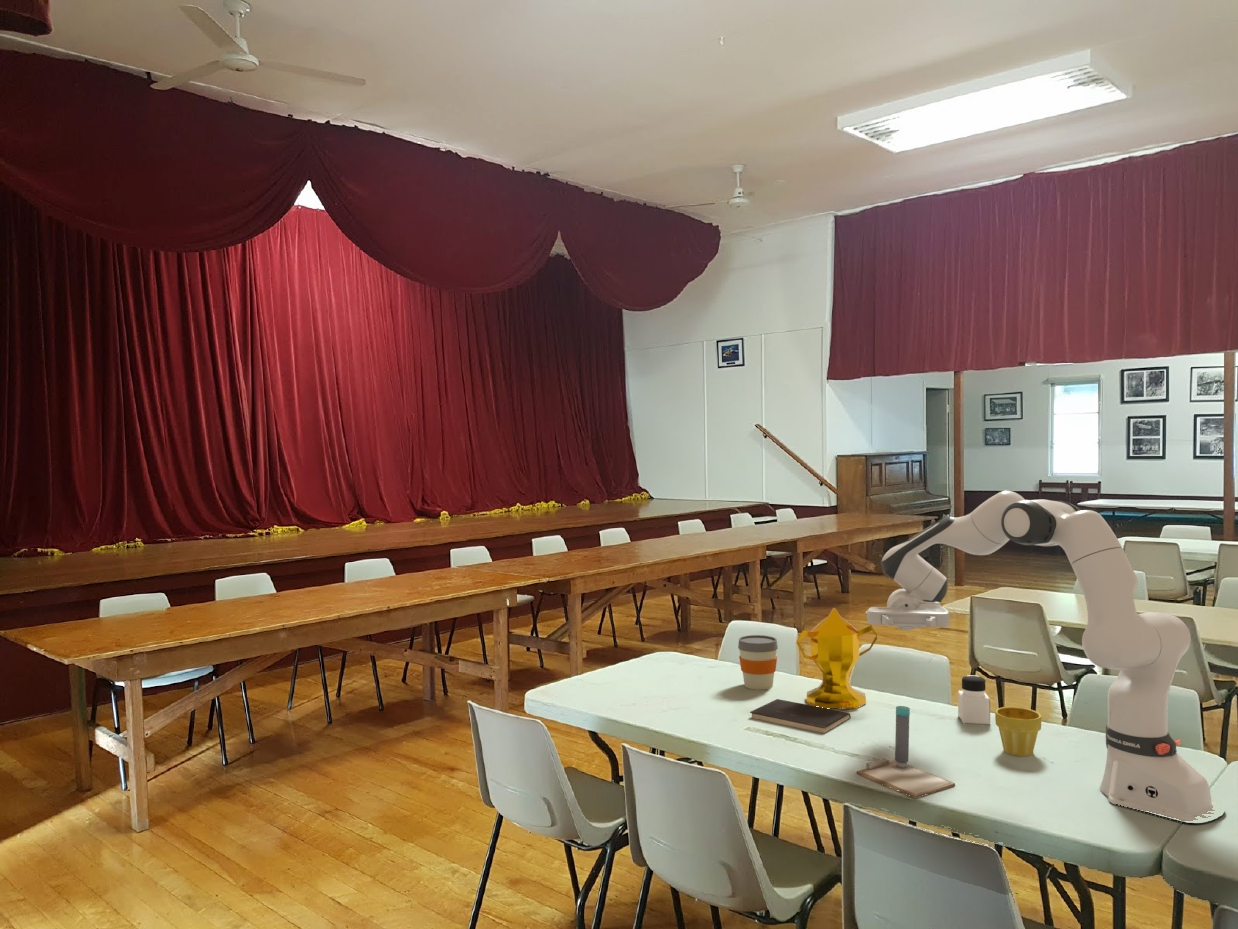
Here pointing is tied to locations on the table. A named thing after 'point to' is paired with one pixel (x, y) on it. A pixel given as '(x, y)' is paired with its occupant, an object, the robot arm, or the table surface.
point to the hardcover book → (800, 715)
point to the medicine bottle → (973, 701)
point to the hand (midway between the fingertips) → (909, 623)
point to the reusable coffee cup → (758, 660)
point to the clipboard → (904, 778)
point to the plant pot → (1018, 729)
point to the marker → (902, 736)
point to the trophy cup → (835, 661)
